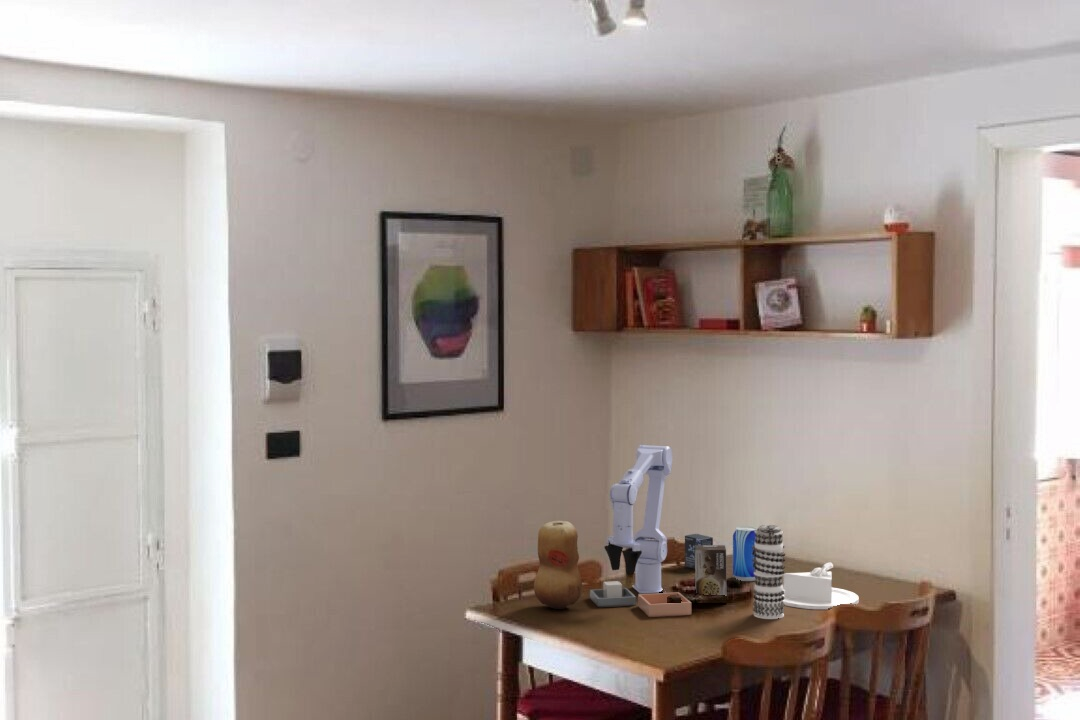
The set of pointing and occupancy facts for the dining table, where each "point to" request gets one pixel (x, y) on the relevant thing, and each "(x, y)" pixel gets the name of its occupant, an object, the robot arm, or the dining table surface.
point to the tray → (625, 600)
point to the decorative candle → (768, 572)
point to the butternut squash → (558, 565)
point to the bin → (663, 605)
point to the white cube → (612, 589)
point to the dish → (815, 590)
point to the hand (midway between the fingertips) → (622, 572)
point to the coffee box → (710, 569)
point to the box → (690, 547)
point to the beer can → (743, 553)
